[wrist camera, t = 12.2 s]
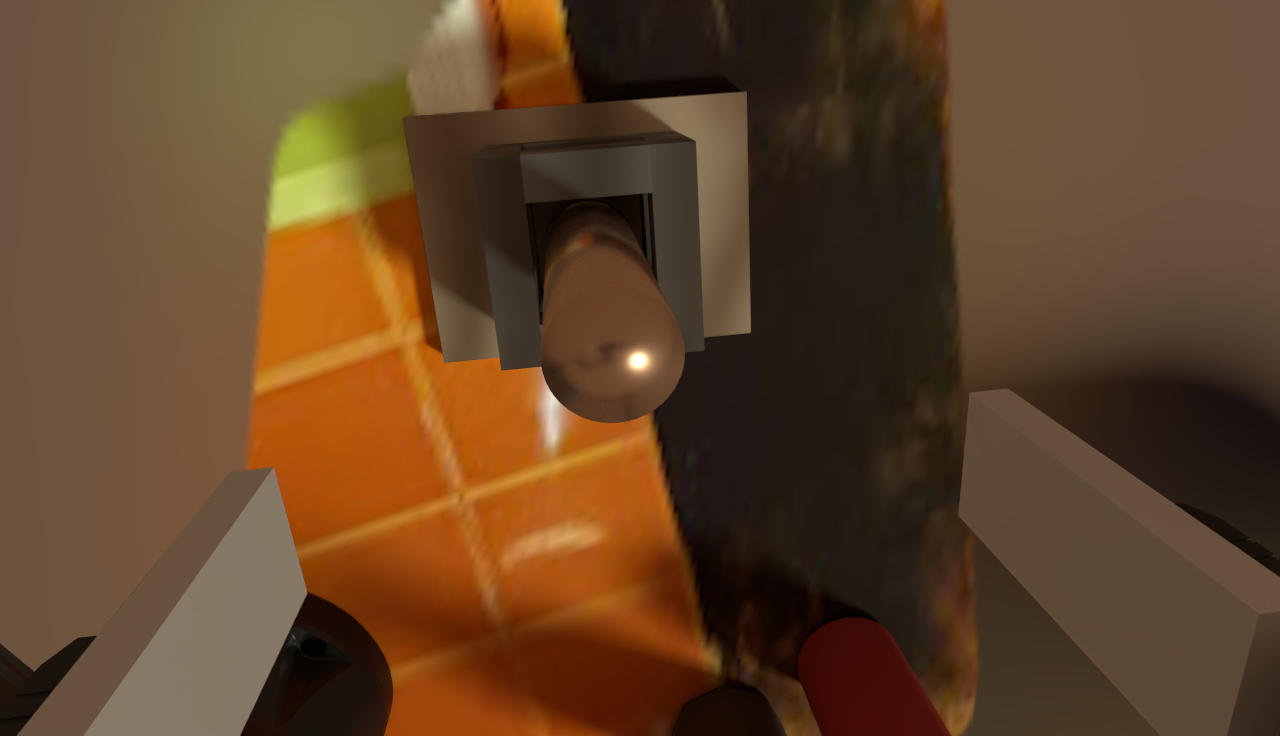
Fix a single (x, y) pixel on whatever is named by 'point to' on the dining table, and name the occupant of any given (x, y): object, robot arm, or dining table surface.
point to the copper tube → (604, 317)
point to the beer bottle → (728, 715)
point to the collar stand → (575, 169)
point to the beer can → (863, 683)
